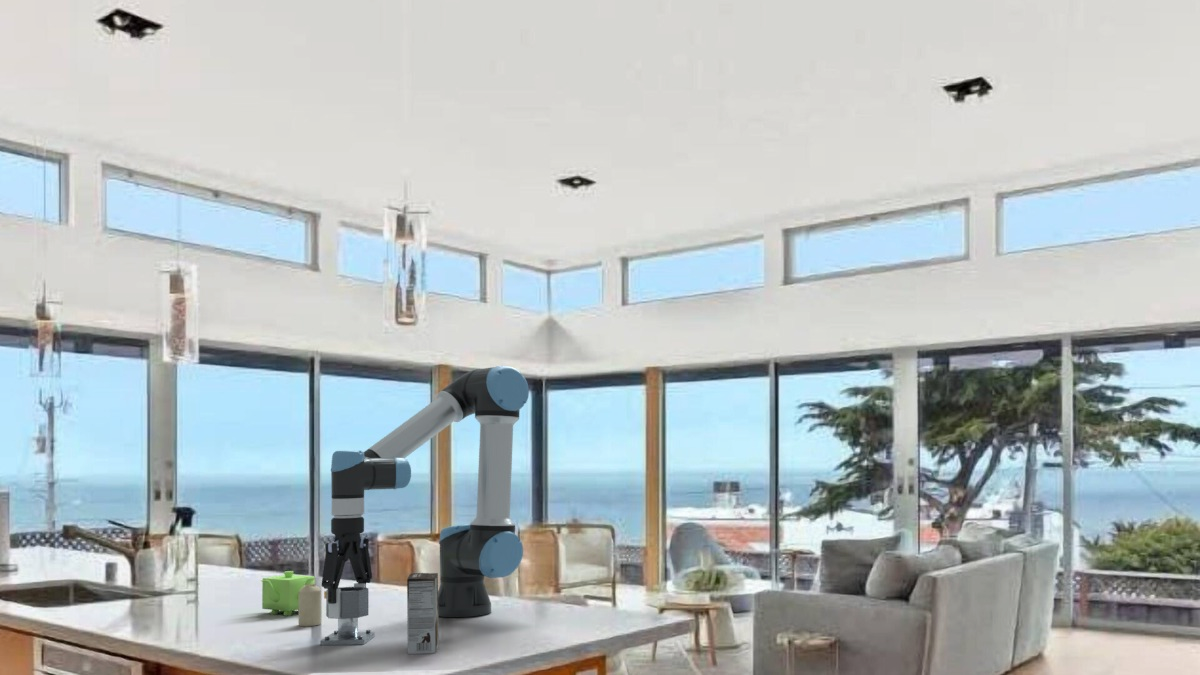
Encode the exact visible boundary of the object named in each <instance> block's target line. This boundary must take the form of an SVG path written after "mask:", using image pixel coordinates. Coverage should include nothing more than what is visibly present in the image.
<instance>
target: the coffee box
mask: <svg viewBox="0 0 1200 675" xmlns="http://www.w3.org/2000/svg"><path fill="white" fill-rule="evenodd" d="M438 574H439V573H438V572H434V573H433V572H432V573H429V572H419V573H418V572H416V573H415V572H414V573H409V575H408V577H407V579H406V587H407V588H406V590H407V592H406V595H407V598H406V600H407V602H406V605H407V606H406V607H407V611H406V612H407V617H406V619H407V624H406V626H407V628H406V629H407V654H408V655H419V654H420V655H421V654H422V655H424V654H437V652H438V648H439V645H440V638H439V635H440V634H439V632H440V631H439V628H440V627H439V616H438V591H439V579H438V578H439V575H438Z"/></svg>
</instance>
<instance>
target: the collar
mask: <svg viewBox="0 0 1200 675" xmlns="http://www.w3.org/2000/svg"><path fill="white" fill-rule="evenodd" d="M337 589H341V594H340V618H333V619H337V620H338V619H348V618H358V619H360V618H363V617H367V616H369V588H367V586H366V587H354V586H342V587H339V586H338V588H337ZM323 594H324V595H323V597H324V599H326V602H325V603H326V605H325V606H326V607H325V608H326V610H325V611H326V615H325V616H326V617H327V618H328V619H330V618H329V603H328V589H325V591H324V592H323Z"/></svg>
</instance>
